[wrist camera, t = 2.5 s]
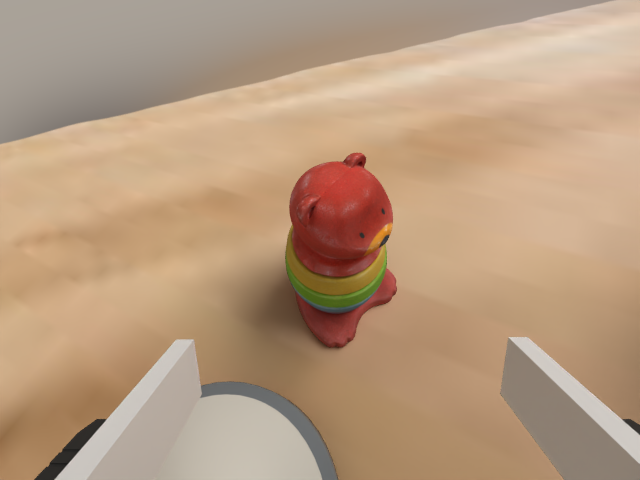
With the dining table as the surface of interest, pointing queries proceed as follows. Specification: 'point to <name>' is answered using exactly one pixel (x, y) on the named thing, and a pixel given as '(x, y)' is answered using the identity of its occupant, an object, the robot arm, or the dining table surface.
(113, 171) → the dining table surface
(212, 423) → the pedestal
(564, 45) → the dining table surface
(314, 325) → the stacking bear
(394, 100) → the dining table surface
